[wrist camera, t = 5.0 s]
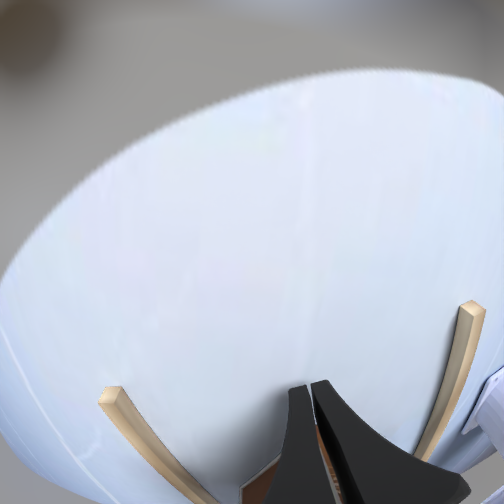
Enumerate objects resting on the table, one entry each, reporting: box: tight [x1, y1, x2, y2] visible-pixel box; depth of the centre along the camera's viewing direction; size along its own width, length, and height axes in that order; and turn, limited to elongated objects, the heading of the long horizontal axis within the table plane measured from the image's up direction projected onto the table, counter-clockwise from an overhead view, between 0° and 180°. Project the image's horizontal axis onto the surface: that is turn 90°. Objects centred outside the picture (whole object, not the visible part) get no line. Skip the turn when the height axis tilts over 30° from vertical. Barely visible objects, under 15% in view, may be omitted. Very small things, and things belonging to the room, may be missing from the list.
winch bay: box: [98, 300, 486, 504], centre depth 11 cm, size 19×21×5 cm
